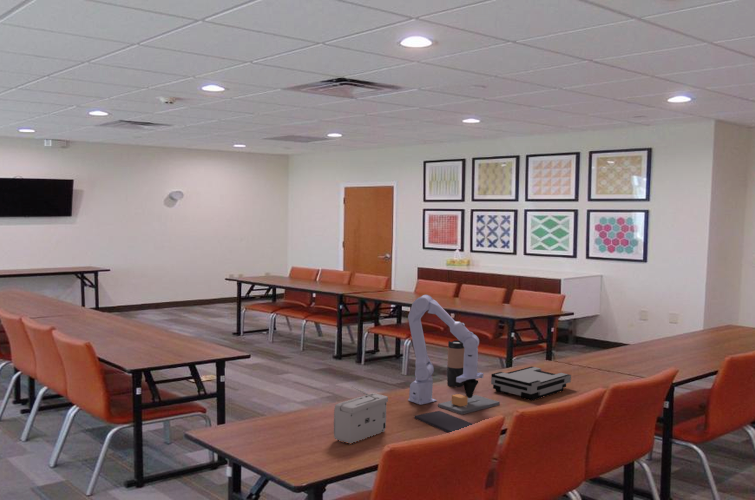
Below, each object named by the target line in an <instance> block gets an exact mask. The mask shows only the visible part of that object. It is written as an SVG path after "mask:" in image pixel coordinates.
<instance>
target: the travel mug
mask: <svg viewBox="0 0 755 500" xmlns="http://www.w3.org/2000/svg"><path fill="white" fill-rule="evenodd" d="M447 345H448V346H447V366H446V367H447V368H446V369H447V371H446V372H447V373H446V375H447V378H446V380H447V382H446V384H447V386H449V387H451V388H460V387H464V386H463V384H462V382H461V383H459V382H456V377H459V376H461V375H463V365H464V352H465V348H464V346H463V343H462V342H460V341H459V340H458V339H456V340H453V341H450V340H449V341H448V343H447Z"/></svg>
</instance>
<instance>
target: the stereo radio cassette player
mask: <svg viewBox="0 0 755 500" xmlns="http://www.w3.org/2000/svg"><path fill="white" fill-rule="evenodd" d="M351 389H354V390H356V391H357V392H360V393H362V394H364V395H362V396H358V397H355V398H351V399H349V400H346V401H342V402H339V403H335V405H334V412H333V416H334V417H333V438H334V439H335V440H340V441H344V442H348V443H353V442H355V443H357V442H356V441H358V442H360V441H359V440H361V441H363V440H366V439H368V438H367V437H369V438H370V436H371V437H373V435H374V436H376V434H377V435H379V434H382V433H381V432H383V433H384V432H385V431H386V428H387V404H388V402H389V397H388V395H387V396H386V395H383V394H380V393H376V392H371V393H367V392H364V391H362V390H361V389H359V388H357V387H356V388H355V387H353V386H351ZM365 438H366V439H365ZM362 439H363V440H362ZM340 441H339V442H340ZM344 442H343V443H344ZM353 444H354V443H353Z"/></svg>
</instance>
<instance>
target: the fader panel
mask: <svg viewBox="0 0 755 500" xmlns="http://www.w3.org/2000/svg"><path fill="white" fill-rule="evenodd" d="M437 406H438V408H440V409H444V410H447V411H449V412H450V411H451V412H454V413H456V414H458V415H465V414H466V415H467V414H470V413H473V412H477V411H482V410H484V409H485V410H486V409H489V408H493V407H496V406H500V401H498V400H494V399H491V398H488V397H485V396H481V395H477V394H473V396H472V398H468V401H467V405H465V406H461V407H460V406H457V405H454V404H452V400H448V401H444V402H440V403H438V404H437Z"/></svg>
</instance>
